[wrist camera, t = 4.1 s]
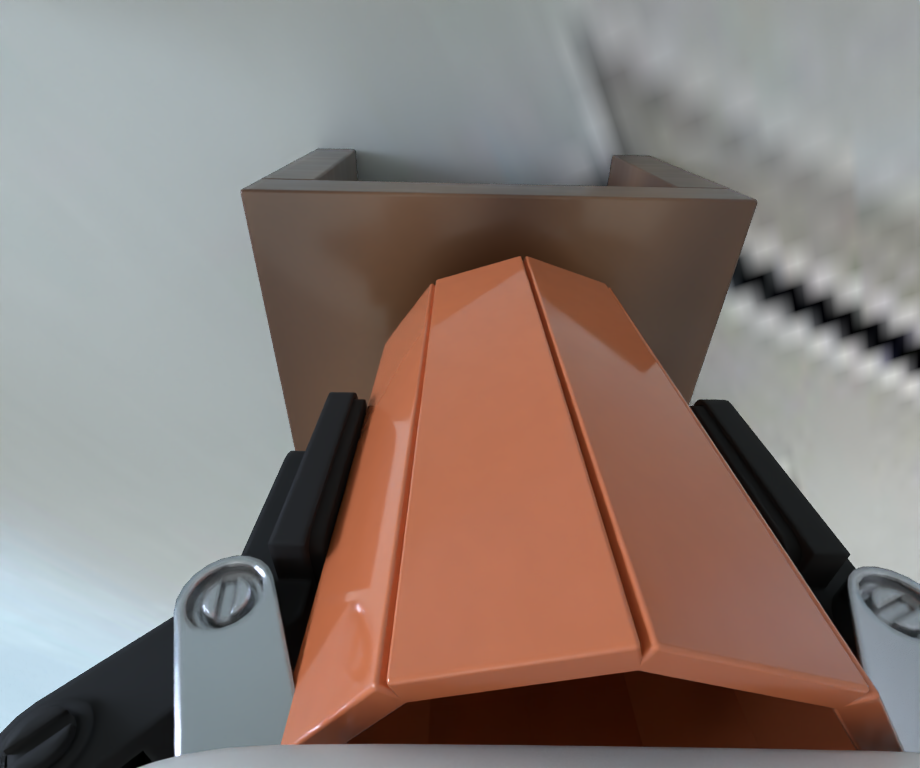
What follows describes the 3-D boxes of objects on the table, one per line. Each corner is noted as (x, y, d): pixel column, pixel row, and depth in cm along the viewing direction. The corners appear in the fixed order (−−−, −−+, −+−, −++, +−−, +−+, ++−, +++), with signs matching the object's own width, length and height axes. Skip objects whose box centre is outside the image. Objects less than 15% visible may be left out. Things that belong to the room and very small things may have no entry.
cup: (669, 259, 11) (1091, 653, 4) (610, 479, 15) (755, 889, 8) (376, 251, 11) (198, 640, 4) (393, 475, 15) (324, 883, 8)
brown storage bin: (650, 155, 19) (760, 199, 12) (603, 373, 24) (661, 488, 17) (316, 148, 19) (238, 189, 12) (344, 370, 24) (301, 485, 17)
